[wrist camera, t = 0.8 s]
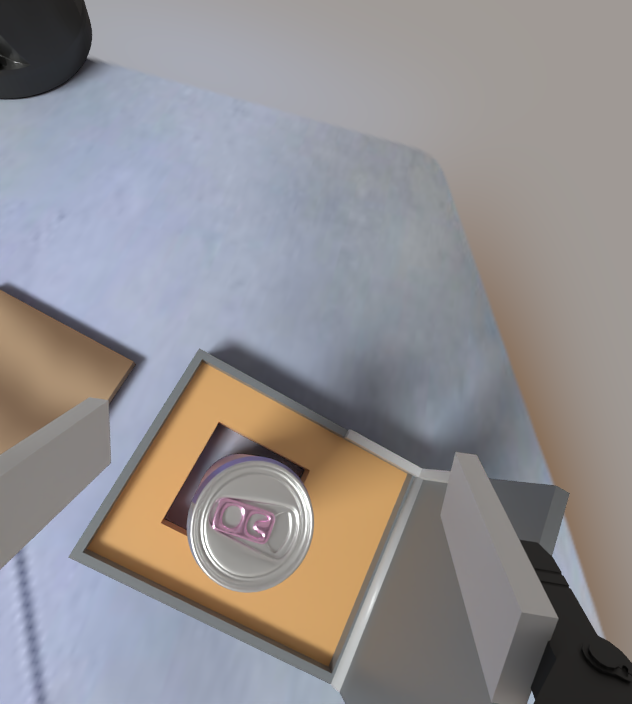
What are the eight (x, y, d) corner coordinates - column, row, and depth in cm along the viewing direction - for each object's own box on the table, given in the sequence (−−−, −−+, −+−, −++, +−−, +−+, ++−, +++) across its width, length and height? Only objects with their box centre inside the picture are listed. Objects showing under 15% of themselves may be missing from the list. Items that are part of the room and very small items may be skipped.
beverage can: (216, 443, 34) (215, 438, 20) (285, 467, 35) (334, 480, 20) (186, 519, 32) (162, 575, 18) (260, 543, 33) (293, 614, 19)
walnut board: (-6, 288, 33) (-12, 283, 32) (135, 364, 34) (133, 361, 33) (-124, 428, 29) (-135, 427, 28) (39, 507, 30) (33, 509, 29)
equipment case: (201, 356, 35) (188, 276, 19) (414, 473, 37) (569, 492, 21) (82, 547, 30) (-72, 659, 14) (335, 670, 32) (456, 894, 16)
